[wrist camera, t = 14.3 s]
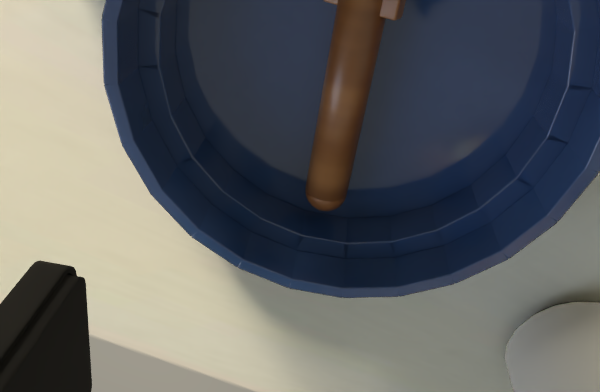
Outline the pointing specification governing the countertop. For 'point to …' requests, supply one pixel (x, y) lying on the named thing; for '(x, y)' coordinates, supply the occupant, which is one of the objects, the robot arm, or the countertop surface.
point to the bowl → (373, 138)
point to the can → (557, 350)
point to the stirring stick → (345, 96)
